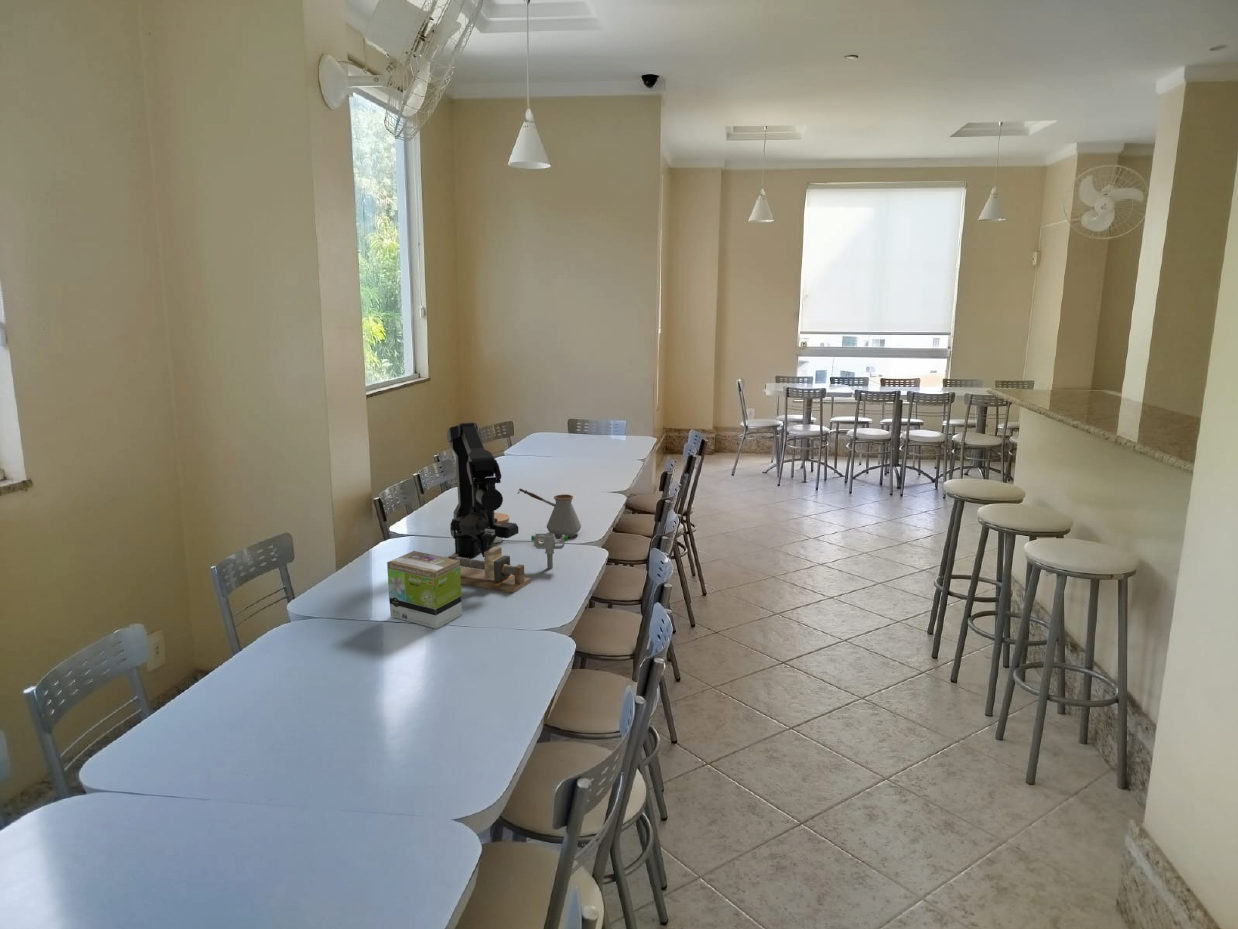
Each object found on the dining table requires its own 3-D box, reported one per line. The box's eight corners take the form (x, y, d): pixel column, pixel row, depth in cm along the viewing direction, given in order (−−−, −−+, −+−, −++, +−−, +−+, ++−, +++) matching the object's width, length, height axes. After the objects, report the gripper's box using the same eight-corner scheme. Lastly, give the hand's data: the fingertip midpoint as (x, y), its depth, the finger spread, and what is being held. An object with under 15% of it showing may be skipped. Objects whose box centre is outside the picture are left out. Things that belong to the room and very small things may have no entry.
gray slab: (494, 581, 214) (493, 561, 213) (505, 574, 219) (504, 555, 218) (499, 582, 214) (498, 562, 213) (510, 575, 219) (509, 556, 218)
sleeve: (485, 579, 216) (484, 552, 214) (496, 572, 221) (495, 546, 219) (494, 580, 215) (493, 553, 213) (505, 574, 219) (504, 547, 218)
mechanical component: (567, 569, 228) (566, 536, 226) (531, 569, 229) (531, 536, 227) (568, 566, 231) (567, 533, 229) (533, 566, 232) (532, 533, 229)
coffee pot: (584, 530, 267) (584, 487, 264) (576, 540, 256) (576, 495, 253) (523, 527, 271) (522, 484, 268) (513, 536, 260) (512, 492, 257)
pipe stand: (442, 580, 220) (441, 559, 219) (461, 570, 228) (460, 550, 227) (513, 593, 210) (512, 571, 209) (530, 582, 218) (530, 561, 217)
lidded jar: (470, 543, 253) (469, 515, 251) (485, 534, 263) (484, 506, 261) (501, 546, 250) (500, 517, 248) (515, 536, 260) (514, 509, 258)
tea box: (388, 618, 194) (385, 560, 191) (416, 604, 203) (413, 549, 200) (436, 630, 187) (433, 570, 184) (463, 615, 196) (461, 558, 193)
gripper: (436, 505, 211) (439, 560, 214) (495, 512, 203) (497, 570, 207) (461, 495, 221) (463, 549, 224) (518, 503, 213) (520, 558, 217)
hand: (485, 556), depth 218 cm, fingers closed
